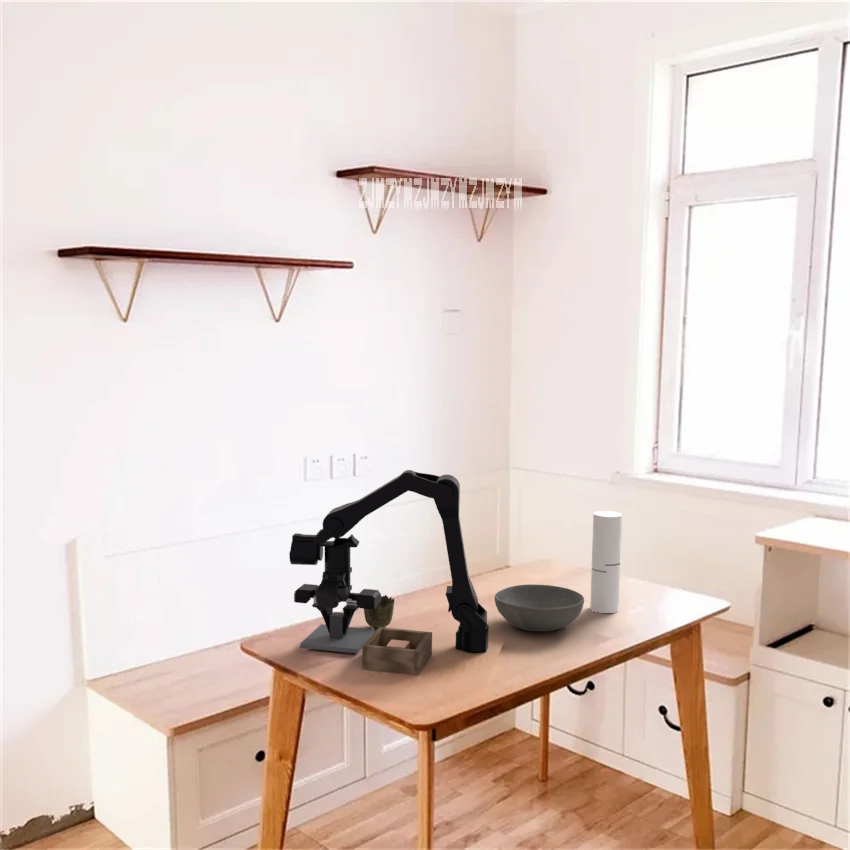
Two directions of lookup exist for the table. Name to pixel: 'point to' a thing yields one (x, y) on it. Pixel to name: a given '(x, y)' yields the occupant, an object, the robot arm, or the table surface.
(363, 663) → the walnut box
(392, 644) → the terracotta cube
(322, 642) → the lid
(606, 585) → the cylindrical container
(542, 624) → the bowl
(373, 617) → the cup
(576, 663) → the table surface
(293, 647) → the table surface
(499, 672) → the table surface
